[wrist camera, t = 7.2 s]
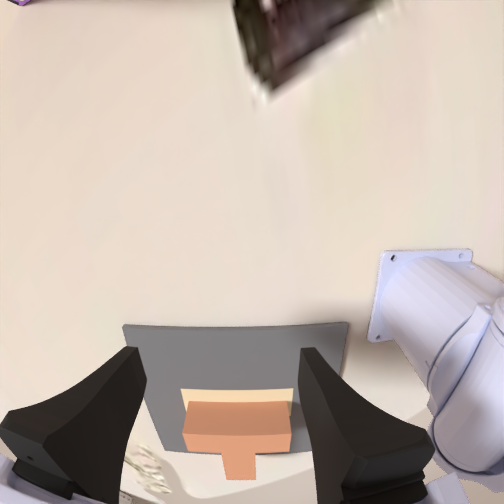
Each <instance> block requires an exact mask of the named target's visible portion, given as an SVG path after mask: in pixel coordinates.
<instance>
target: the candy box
mask: <svg viewBox="0 0 504 504" xmlns="http://www.w3.org/2000/svg"><path fill="white" fill-rule="evenodd" d="M8 1H10V2H12V3H14V4H17V5H19V6H22V5H24V4H25V3H27V2H29V1H30V0H8Z"/></svg>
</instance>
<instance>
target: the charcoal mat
mask: <svg viewBox="0 0 504 504" xmlns="http://www.w3.org/2000/svg"><path fill="white" fill-rule="evenodd" d="M122 329H123V333H124V336H125V340H126V344H127V346H131V347H138V349H139V353H140V357H141V360H142V364H143V367H144V371H145V374H146V377H147V384H146V389H145V393H144V400H145V402H146V405H147V408H148V410H149V413H150V416H151V418H152V421H153V423H154V426H155V428H156V431H157V433H158V436H159V438H160V440H161V443H162V445H163V447H164V449H165V451H174V452H184V453H197V454H215V455H222V454H221V453H209V452H193V451H188V449H187V446H186V443H185V440H184V437H183V434H182V432H183V427H184V422H185V417H186V412H187V407H188V402H189V401H203V402H268V401H287V405H288V412H289V419H290V426H291V433H292V434H291V441H290V449H289V452H272V453H255V455H266V454H285V453H297V452H308V451H312V447H311V442H310V438H309V434H308V430H307V426H306V423H305V419H304V415H303V411H302V407H301V403H300V398H299V391H298V382H297V381H298V371H299V361H300V349H301V348H307V347H315V348H316V349H317V350H318V351H319V353H320V354H321V355H322V356H323V358H324V359H325V360H326V361H327V363H328V364H329V365H330V366H331V367H332V368H333V370H334V371H335V372H336V373H337V374H338V375H339V373H340V368H341V363H342V357H343V352H344V347H345V341H346V335H347V330H348V324H347V322H339V323H325V324H309V325H290V326H262V327H171V326H145V325H126V324H124V325H123V327H122Z"/></svg>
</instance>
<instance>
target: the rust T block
mask: <svg viewBox="0 0 504 504" xmlns="http://www.w3.org/2000/svg"><path fill="white" fill-rule="evenodd" d="M182 434H183V437H184V440H185V443H186V446H187V449H188V451H193V452H209V453H221V454H222V459H223V464H224V469H225V474H226V479H227V480H256V467H255V453H272V452H289V449H290V441H291V434H292V433H291V426H290V419H289V412H288V405H287V401H268V402H203V401H189V402H188V407H187V412H186V417H185V422H184V427H183V432H182Z"/></svg>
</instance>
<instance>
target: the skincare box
mask: <svg viewBox="0 0 504 504" xmlns="http://www.w3.org/2000/svg"><path fill="white" fill-rule="evenodd" d="M132 499H133V498H132V497H130V496H128V495H126V494H125V493H123V492H121V491H120V494H119V504H131V503H132Z"/></svg>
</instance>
